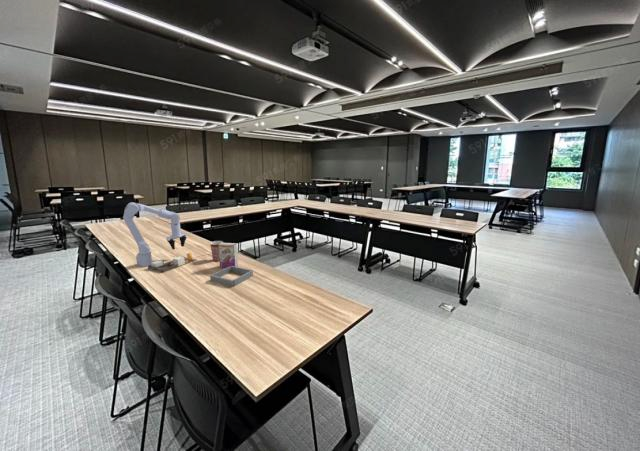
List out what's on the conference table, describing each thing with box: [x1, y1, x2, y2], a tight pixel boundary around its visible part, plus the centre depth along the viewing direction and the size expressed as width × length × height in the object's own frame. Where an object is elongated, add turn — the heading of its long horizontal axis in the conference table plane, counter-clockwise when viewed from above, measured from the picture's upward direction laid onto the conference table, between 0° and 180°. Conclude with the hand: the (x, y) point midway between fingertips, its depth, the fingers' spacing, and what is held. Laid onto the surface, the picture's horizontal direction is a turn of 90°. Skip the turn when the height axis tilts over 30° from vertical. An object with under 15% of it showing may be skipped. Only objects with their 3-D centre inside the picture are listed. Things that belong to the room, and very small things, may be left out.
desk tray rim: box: [209, 266, 254, 288], centre depth 168 cm, size 18×18×4 cm
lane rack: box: [147, 256, 197, 273], centre depth 188 cm, size 15×26×3 cm, turn 155°
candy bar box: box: [218, 242, 239, 268], centre depth 185 cm, size 11×5×16 cm, turn 84°
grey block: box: [151, 260, 163, 267], centre depth 181 cm, size 5×5×4 cm
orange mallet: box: [172, 252, 193, 267], centre depth 191 cm, size 5×13×5 cm, turn 155°
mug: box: [209, 240, 224, 263], centre depth 199 cm, size 13×9×14 cm
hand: (178, 247), depth 197 cm, fingers open, 7 cm apart
